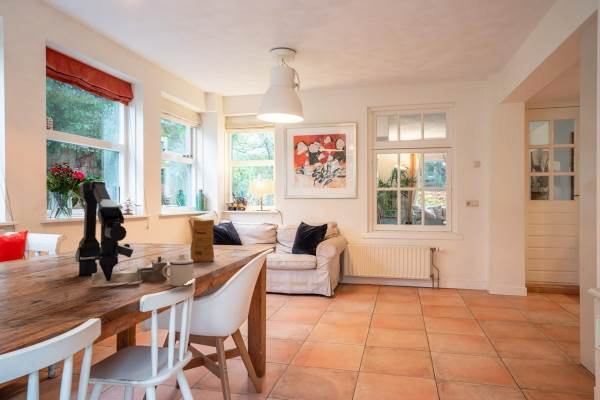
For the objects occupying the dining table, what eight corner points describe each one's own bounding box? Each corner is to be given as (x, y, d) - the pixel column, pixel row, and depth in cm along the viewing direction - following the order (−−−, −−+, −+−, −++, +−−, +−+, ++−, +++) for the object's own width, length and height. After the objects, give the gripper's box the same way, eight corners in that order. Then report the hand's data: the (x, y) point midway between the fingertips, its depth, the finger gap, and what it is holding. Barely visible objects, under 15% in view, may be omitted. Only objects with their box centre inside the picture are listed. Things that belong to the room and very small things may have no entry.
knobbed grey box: (142, 281, 156) (142, 259, 156) (140, 277, 164) (141, 256, 164) (166, 279, 160) (167, 257, 160) (164, 275, 168) (164, 254, 168)
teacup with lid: (196, 281, 157) (196, 252, 157) (189, 286, 148) (190, 256, 148) (166, 281, 157) (166, 252, 157) (158, 286, 148) (158, 255, 148)
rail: (91, 285, 143) (92, 272, 143) (92, 282, 147) (92, 269, 147) (141, 281, 150) (141, 268, 150) (140, 279, 154) (140, 267, 154)
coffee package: (191, 259, 212) (191, 219, 212) (214, 259, 214) (215, 219, 214) (189, 262, 202) (189, 220, 202) (213, 262, 204) (214, 220, 204)
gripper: (133, 240, 142) (132, 283, 143) (131, 235, 159) (130, 273, 159) (99, 241, 138) (98, 285, 138) (100, 236, 155) (100, 275, 155)
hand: (108, 279), depth 148 cm, fingers closed on rail, 4 cm apart
